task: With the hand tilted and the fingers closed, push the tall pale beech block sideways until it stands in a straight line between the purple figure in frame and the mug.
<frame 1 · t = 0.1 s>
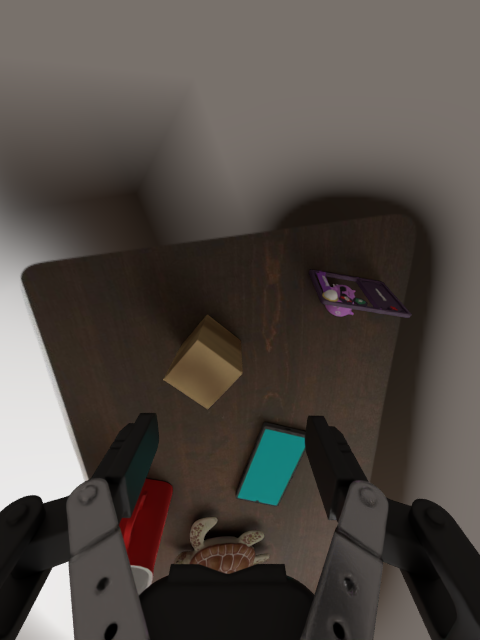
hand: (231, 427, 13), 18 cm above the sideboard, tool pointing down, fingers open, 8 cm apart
mug: (148, 486, 39), on the sideboard
beech block: (211, 343, 31), on the sideboard
smartphone: (270, 463, 37), on the sideboard
decorative turtle: (220, 542, 43), on the sideboard
purple figure in frame: (339, 294, 29), on the sideboard
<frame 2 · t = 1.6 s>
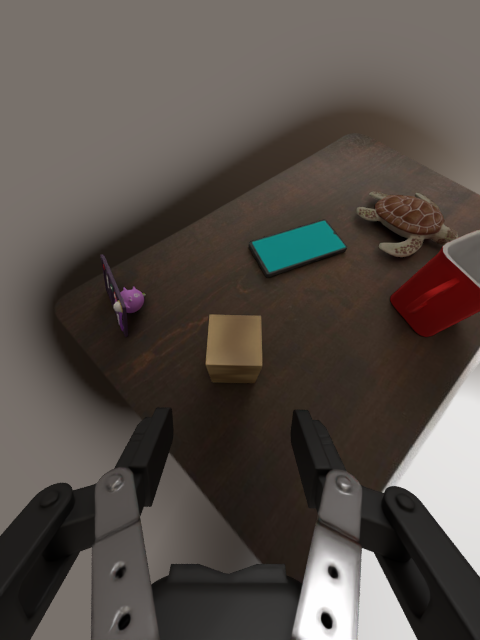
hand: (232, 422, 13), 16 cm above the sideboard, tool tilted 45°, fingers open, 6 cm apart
mug: (412, 313, 36), on the sideboard
beech block: (234, 361, 31), on the sideboard
smartphone: (296, 249, 40), on the sideboard
decorative turtle: (400, 228, 44), on the sideboard
purple figure in frame: (132, 306, 35), on the sideboard
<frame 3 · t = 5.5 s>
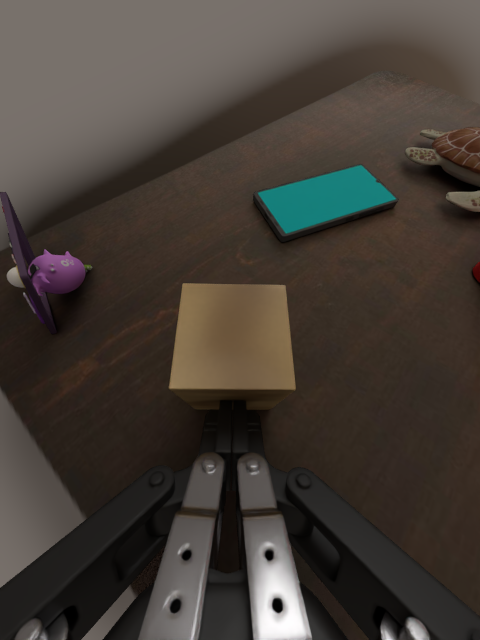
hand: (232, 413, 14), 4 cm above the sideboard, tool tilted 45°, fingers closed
beech block: (233, 372, 19), on the sideboard, touching gripper
smartphone: (323, 204, 28), on the sideboard
decorative turtle: (467, 178, 31), on the sideboard
purple figure in frame: (70, 285, 22), on the sideboard
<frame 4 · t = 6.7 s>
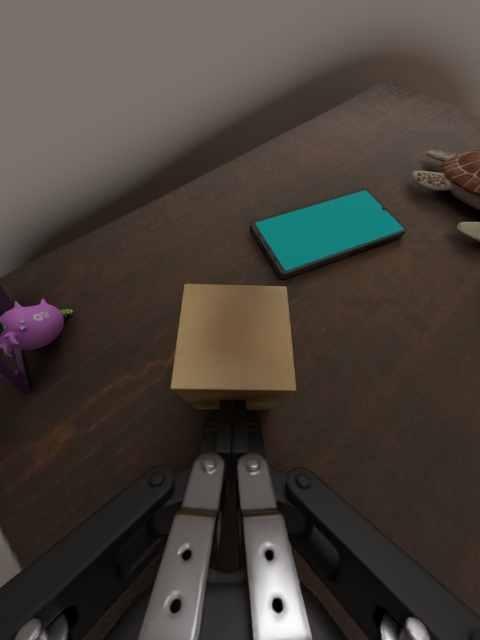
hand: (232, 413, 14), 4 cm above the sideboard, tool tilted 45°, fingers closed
beech block: (233, 372, 19), on the sideboard, touching gripper
smartphone: (326, 234, 26), on the sideboard
decorative turtle: (477, 203, 29), on the sideboard
purple figure in frame: (48, 332, 20), on the sideboard
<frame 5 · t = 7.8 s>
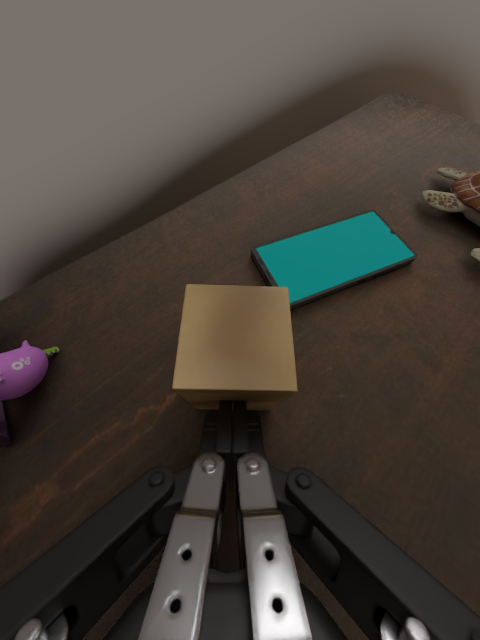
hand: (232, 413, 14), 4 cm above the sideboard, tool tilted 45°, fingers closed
beech block: (234, 372, 19), on the sideboard, touching gripper
smartphone: (331, 259, 24), on the sideboard
purple figure in frame: (32, 373, 18), on the sideboard
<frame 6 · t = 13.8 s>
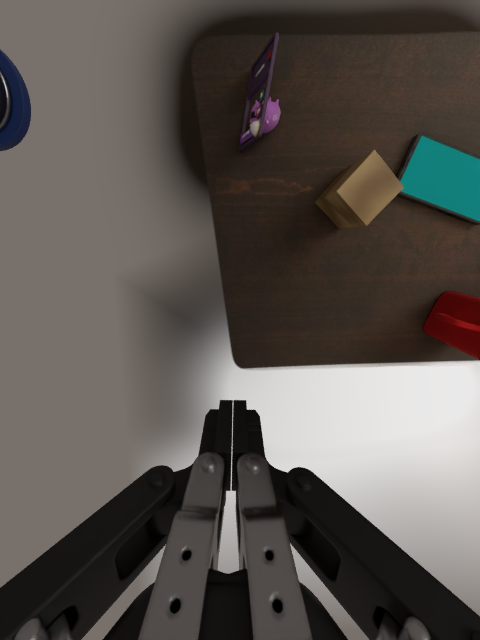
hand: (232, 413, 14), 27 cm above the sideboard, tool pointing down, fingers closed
mug: (440, 313, 41), on the sideboard
beech block: (341, 200, 35), on the sideboard
smartphone: (446, 183, 34), on the sideboard
purple figure in frame: (261, 116, 32), on the sideboard
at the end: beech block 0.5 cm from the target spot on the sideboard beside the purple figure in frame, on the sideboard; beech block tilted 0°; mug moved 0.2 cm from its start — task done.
